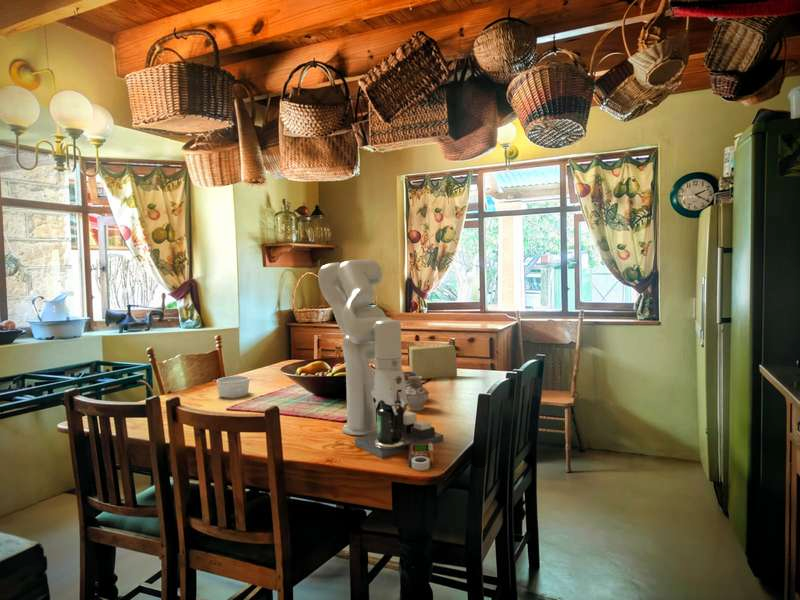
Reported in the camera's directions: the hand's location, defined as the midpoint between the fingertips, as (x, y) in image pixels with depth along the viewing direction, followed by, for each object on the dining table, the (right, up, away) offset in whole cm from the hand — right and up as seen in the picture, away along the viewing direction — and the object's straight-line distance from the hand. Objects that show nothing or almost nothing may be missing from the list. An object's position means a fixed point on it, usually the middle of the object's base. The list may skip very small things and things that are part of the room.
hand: (389, 424), depth 150 cm
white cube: (+10, -4, +6) cm, 12 cm away
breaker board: (+3, -7, +5) cm, 9 cm away
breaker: (+5, -3, +11) cm, 13 cm away
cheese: (+19, -1, +100) cm, 101 cm away
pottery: (+7, -4, +51) cm, 51 cm away
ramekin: (-67, -5, +71) cm, 98 cm away
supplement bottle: (0, -5, 0) cm, 5 cm away
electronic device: (+9, -8, -9) cm, 15 cm away
